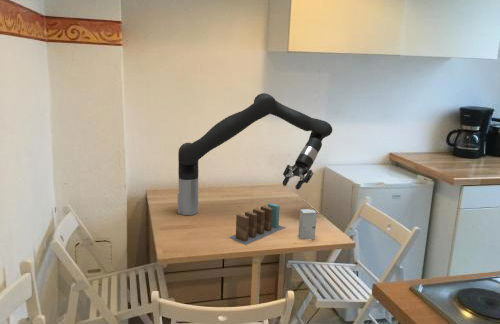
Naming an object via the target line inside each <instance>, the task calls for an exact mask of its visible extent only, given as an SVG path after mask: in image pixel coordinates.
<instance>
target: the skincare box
mask: <svg viewBox="0 0 500 324" xmlns="http://www.w3.org/2000/svg"><path fill="white" fill-rule="evenodd" d="M317 213H318V212H317V211H316V209H313V208H306V209H305V208H304V209H303V208H302V209H300V210H299V220H298V221H299V222H298V233H297V236H298V238H300V240H311V241H313V240H315V237H316V229H317V228H316V225H317V217H318V214H317Z"/></svg>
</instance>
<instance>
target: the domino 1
mask: <svg viewBox="0 0 500 324" xmlns="http://www.w3.org/2000/svg"><path fill="white" fill-rule="evenodd" d="M235 220H236V221H235V226H236V227H235V235H236V238H237V239H239V240H242V241H244V242H245V241H248V228H249V217H247V216H245V214H241V213H238V214H236V218H235Z"/></svg>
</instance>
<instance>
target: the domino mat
mask: <svg viewBox="0 0 500 324" xmlns="http://www.w3.org/2000/svg"><path fill="white" fill-rule="evenodd" d="M284 229H286V227H285V226H282V225H280V224H279V227H278V228H273V227H272V229H271V231H269V232H268V231H266V230H264V234H262V235H260V234H257V233H256V237H255V238H251V237H249V236H248V241H245V242H244V241H242V240H239V239H237V238H236V234H234V235H230V236H228V239H230V240H233V241H235V242H238V243H240V244H242V245H245V246H248V245H250V244H252V243H254V242H256V241H258V240H261V239H264V238H265V237H268V236H270V235H273V234H275V233H277V232H279V231H282V230H284Z"/></svg>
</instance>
